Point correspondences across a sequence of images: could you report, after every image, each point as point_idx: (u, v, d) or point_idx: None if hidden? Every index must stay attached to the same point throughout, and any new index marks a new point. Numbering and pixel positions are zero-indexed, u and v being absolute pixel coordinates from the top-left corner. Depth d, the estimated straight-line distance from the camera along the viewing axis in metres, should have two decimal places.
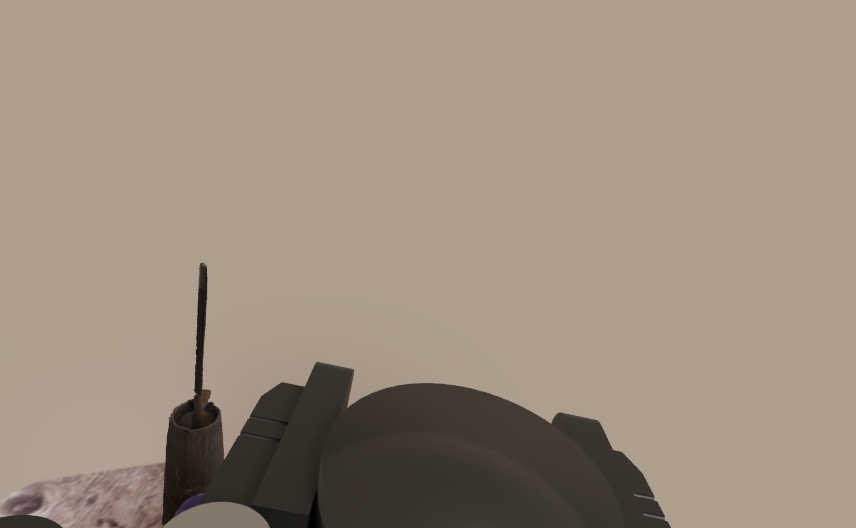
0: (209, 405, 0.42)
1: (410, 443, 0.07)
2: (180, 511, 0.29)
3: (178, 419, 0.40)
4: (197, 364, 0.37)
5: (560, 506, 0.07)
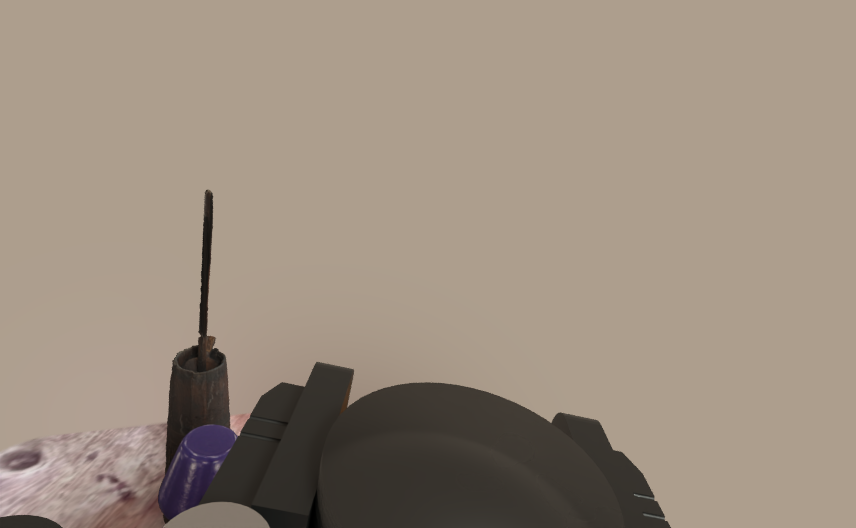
0: (214, 351, 0.40)
1: (410, 442, 0.07)
2: (186, 439, 0.28)
3: (182, 364, 0.39)
4: (202, 302, 0.36)
5: (560, 506, 0.07)
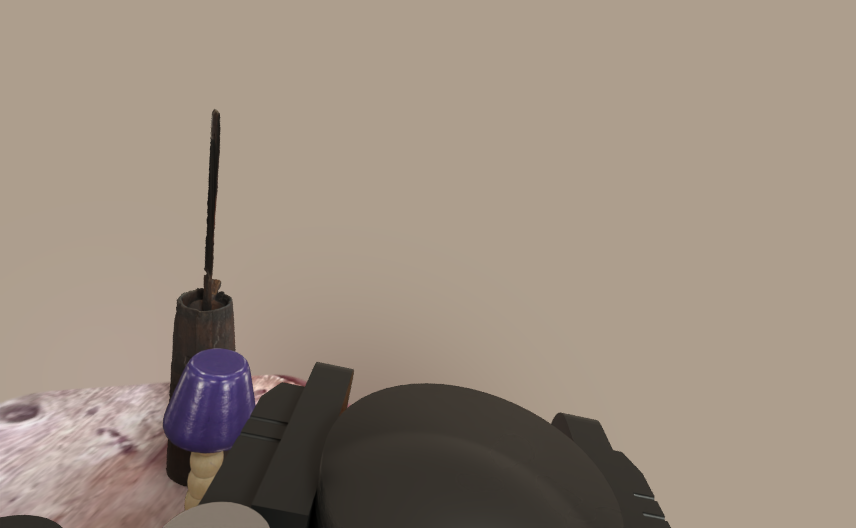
0: (219, 294, 0.38)
1: (411, 442, 0.07)
2: (192, 359, 0.26)
3: (186, 306, 0.37)
4: (208, 235, 0.34)
5: (560, 506, 0.07)
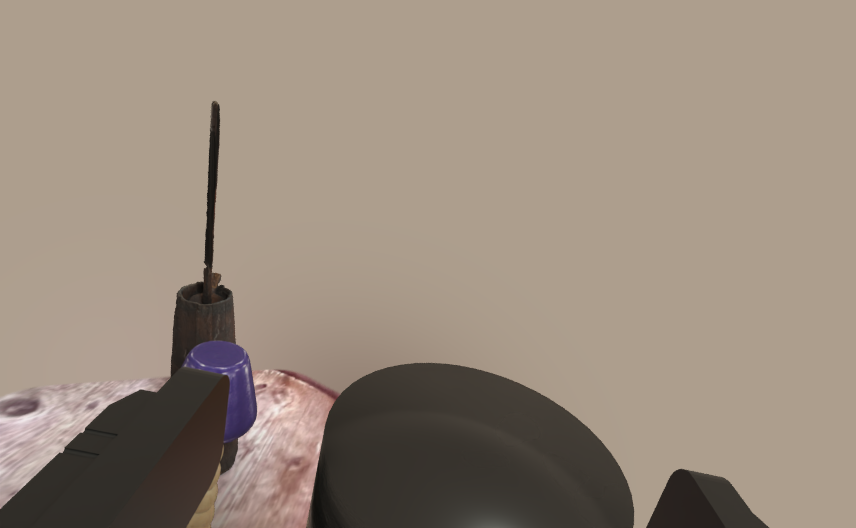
0: (219, 288, 0.38)
1: (414, 419, 0.07)
2: (192, 351, 0.26)
3: (186, 300, 0.37)
4: (208, 228, 0.34)
5: (567, 482, 0.06)
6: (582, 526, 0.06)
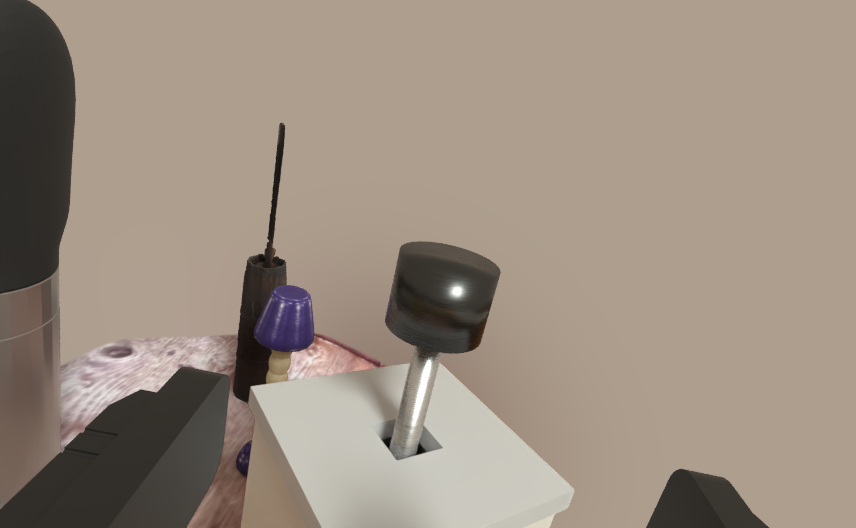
0: (275, 259, 0.52)
1: (428, 252, 0.20)
2: (275, 290, 0.39)
3: None
4: (272, 213, 0.47)
5: (479, 268, 0.20)
6: (480, 274, 0.19)
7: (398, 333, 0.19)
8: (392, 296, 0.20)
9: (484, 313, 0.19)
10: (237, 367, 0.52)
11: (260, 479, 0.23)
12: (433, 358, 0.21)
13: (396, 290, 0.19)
